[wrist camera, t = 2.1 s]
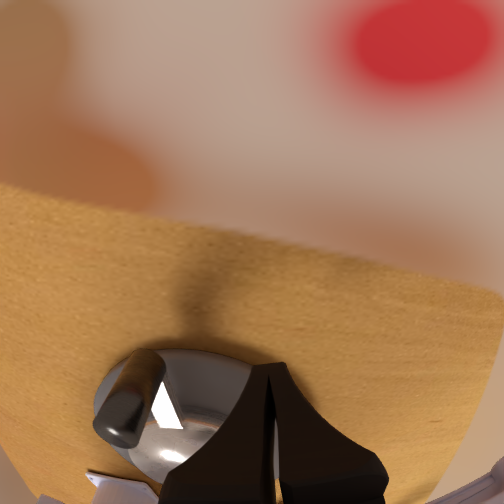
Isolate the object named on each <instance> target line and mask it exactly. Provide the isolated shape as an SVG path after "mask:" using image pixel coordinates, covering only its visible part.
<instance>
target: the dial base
mask: <svg viewBox="0 0 504 504" xmlns="http://www.w3.org/2000/svg"><path fill="white" fill-rule="evenodd" d="M152 351H154V352H156V353H157V354H159V355H160V356H161V357H162V358H163V360H164V361H165V363H166V367H167V372H168V374H169V377H170V380H171V382H172V385H173V388H174V390H175V393H176V395H177V398H178V400H179V403H180V405H181V406H190V407H197V408H202V409H207V410H211V411H214V412H217V413H220V414H223V415H225V416H228V415H229V414H230V413H231V411H232V409H233V408H234V406H235V404H236V403H237V401H238V399H239V397H240V395H241V393H242V391H243V389H244V387H245V385H246V383H247V380H248V378H249V375H250V372H251V368H252V367H253V366H252V365H250V364H248V363H245V362H242V361H240V360H237V359H234V358H231V357H227V356H224V355H220V354H216V353H211V352H205V351H200V350H189V349H162V350H152ZM129 358H130V357H129ZM129 358H127V359H125V360H123V361H121V362H120V363H118V364H117V365H116V366H115V367H113V368H112V369H111V370H110V371H109V373H108V374H107V375H106V377H105V378H104V380H103V381H102V383H101V384H100V386H99V388H98V390H97V392H96V395H95V399H94V414H95V417H96V415H97V413H98V411H99V410H100V408H101V406H102V404H103V402H104V401H105V399H106V397H107V395H108V394H109V392H110V390H111V388H112V387H113V385H114V383H115V381H116V380H117V378H118V376H119V375H120V373H121V371H122V369H123V368H124V366H125V364H126V363H127V361H128V359H129ZM109 444H110V443H109ZM110 445H111V446H112V447H113V448H114V449H115V450H116V451H117V452H118V453H119V454H120V455H121V456H122V457H123V458H125V459H126V460H127V461H129V462H130V463H131V464H133V465H134V466H136V465H135V464H134V463H133V461H132V460H131V458H130V456H129V452H128V449H124V448H119V447H116V446H114V445H112V444H110ZM274 477H275V479H277V478H279V453H278V429H277V424H276V419H275V441H274Z"/></svg>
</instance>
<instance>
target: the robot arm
mask: <svg viewBox="0 0 504 504" xmlns="http://www.w3.org/2000/svg"><path fill="white" fill-rule="evenodd" d="M275 419H276V424H277V429H278V453H279V482H280V487H281V493H282V498H283V503H284V504H385V499H384V496H383V494H384V492H385V489H386V487H387V485H388V482H389V477H388V473H387V471H386V469H385V467H384V466H383V464H382V462H381V461H380V459H379V458H378V457H377V455H376V454H375V453H374V452H372V451H370V450H368V449H366V448H364V447H362V446H360V445H359V444H357V443H355V442H354V441H352V440H350V439H349V438H347V437H346V436H345V435H343V434H342V433H341V432H339V431H338V430H337V429H335V428H334V427H333V426H331V425H330V424H329V423H328V422H327V421H326V420H325V419H324V418H323V417H322V416H321V415H320V414H319V413H318V412H317V411H316V410H315V409H314V408H313V407H312V406H311V405H310V403H309V402H308V401H307V400H306V398H305V397H304V396H303V394H302V393H301V392H300V390H299V389H298V387H297V386H296V384H295V382H294V381H293V379H292V377H291V375H290V373H289V371H288V369H287V366H286V363H284V362H278V363H270V364H262V365H254V366H253V367H252V368H251V372H250V375H249V378H248V380H247V383H246V385H245V387H244V389H243V391H242V393H241V395H240V397H239V399H238V401H237V403H236V404H235V406H234V408H233V409H232V411H231V413H230V414H229V415H228V417H227V418H226V420H225V421H224V422H223V424H222V425H221V426H220V428H219V429H218V430H217V431H216V432H215V433H214V435H213V436H212V437H211V438H210V439H209V440H208V441H207V442H206V443H205V444H204V445H203V446H202V447H201V448H200V449H199V450H197V451H196V452H195V453H194V454H193V455H192V456H191V457H189V458H188V459H187V460H185V461H184V462H183V463H181V464H180V465H178V466H177V467H175V468H174V469H172V470H171V471H169V472H168V474H167V476H166V478H165V480H164V483H163V485H162V488H161V492H160V496H159V498H158V497H157V495H156V494H155V493H154V492H153V491H152V489H151V488H150V487H149V486H148V485H147V484H146V483H144V482H138V481H131V480H125V479H120V478H114V477H109V476H104V475H100V474H95V473H91V472H86V474H85V475H86V476H87V477H88V478H89V479H90V480H91V481H92V483H93V484H94V485H95V486H96V487H97V490H96V492H95V495H94V497H93V500H92V502H91V504H276V491H275V477H274V441H275ZM36 504H64V503H63V502H61V501H59V500H56V499H54V498H51V497H49V496H46V495H44V494H41V495H40V497H39V499H38V501H37V503H36ZM426 504H504V457H502V458H501V459H500V460H499V461H497V462H496V464H495V465H494V466H493V467H492V469H491V471H490V472H489V473H487V474H485V475H483V476H482V477H480V478H478V479H476V480H474V481H473V482H471V483H469V484H467V485H465V486H463V487H461V488H459V489H457V490H455V491H453V492H451V493H449V494H447V495H444V496H442V497H440V498H438V499H435V500H433V501H431V502H428V503H426Z"/></svg>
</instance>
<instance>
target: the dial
mask: <svg viewBox="0 0 504 504" xmlns="http://www.w3.org/2000/svg"><path fill="white" fill-rule="evenodd" d="M227 417H228V416H225V415H223V414H220V413H217V412H214V411H211V410H207V409H202V408H197V407H190V406H181V405H180V403H179V400H178V398H177V395H176V393H175V390H174V388H173V385H172V382H171V380H170V377H169V374H168V372H167V367H166V363H165V361H164V360H163V358H162V357H161V356H160V355H159V354H157V353H156V352H154V351H152V350H149V349H137V350H135V351H134V352H133V353H132V354H131V356H130V358H129V359H128V361H127V363H126V364H125V366H124V368H123V369H122V371H121V373H120V375H119V376H118V378H117V380H116V381H115V383H114V385H113V387H112V388H111V390H110V392H109V394H108V395H107V397H106V399H105V401H104V402H103V404H102V406H101V408H100V410H99V411H98V413H97V415H96V417H95V419H94V420H93V428H94V430H95V431H96V433H97V434H98V435H99V436H100V437H101V438H102V439H104V440H105V441H106V442H108V443H110V444H112V445H114V446H116V447H119V448H124V449H128V452H129V456H130V458H131V460H132V461H133V463H134V464H135V465H136V467H137V468H138V469H139V470H141V471H142V472H143V473H144V474H145V475H147V476H148V477H150V478H151V479H153V480H155V481H157V482H158V483H160V484H163V483H164V480H165V478H166V476H167V474H168V472H169V471H171V470H172V469H174V468H175V467H177V466H178V465H180V464H181V463H183V462H184V461H185V460H187V459H188V458H189V457H191V456H192V455H193V454H194V453H195V452H196V451H197V450H199V449H200V448H201V447H202V446H203V445H204V444H205V443H206V442H207V441H208V440H209V439H210V438H211V437H212V436H213V435H214V433H215V432H216V431H217V430H218V429H219V428H220V426H221V425H222V424H223V422H224V421H225V420H226V418H227Z"/></svg>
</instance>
